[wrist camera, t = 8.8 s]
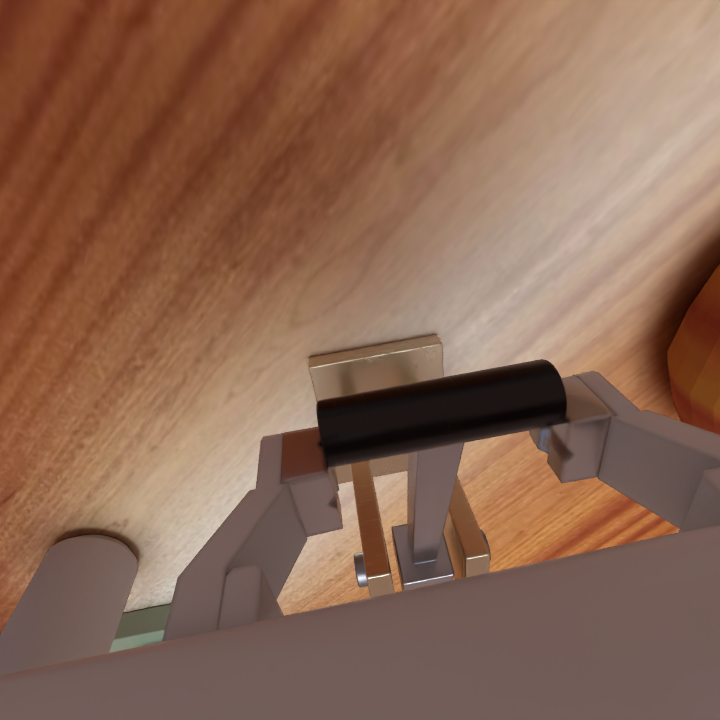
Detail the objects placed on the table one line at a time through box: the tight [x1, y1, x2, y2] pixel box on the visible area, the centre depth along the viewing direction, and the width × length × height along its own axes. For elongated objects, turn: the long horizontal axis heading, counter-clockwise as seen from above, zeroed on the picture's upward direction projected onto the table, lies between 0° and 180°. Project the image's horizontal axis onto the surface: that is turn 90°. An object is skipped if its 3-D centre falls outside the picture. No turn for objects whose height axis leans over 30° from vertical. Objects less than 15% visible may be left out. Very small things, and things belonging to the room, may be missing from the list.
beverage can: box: [0, 535, 138, 676], centre depth 28 cm, size 6×6×12 cm
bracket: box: [309, 335, 491, 598], centre depth 23 cm, size 10×8×13 cm
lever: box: [317, 359, 567, 591], centre depth 15 cm, size 15×5×2 cm, turn 8°
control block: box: [109, 604, 171, 653], centre depth 38 cm, size 10×8×4 cm
